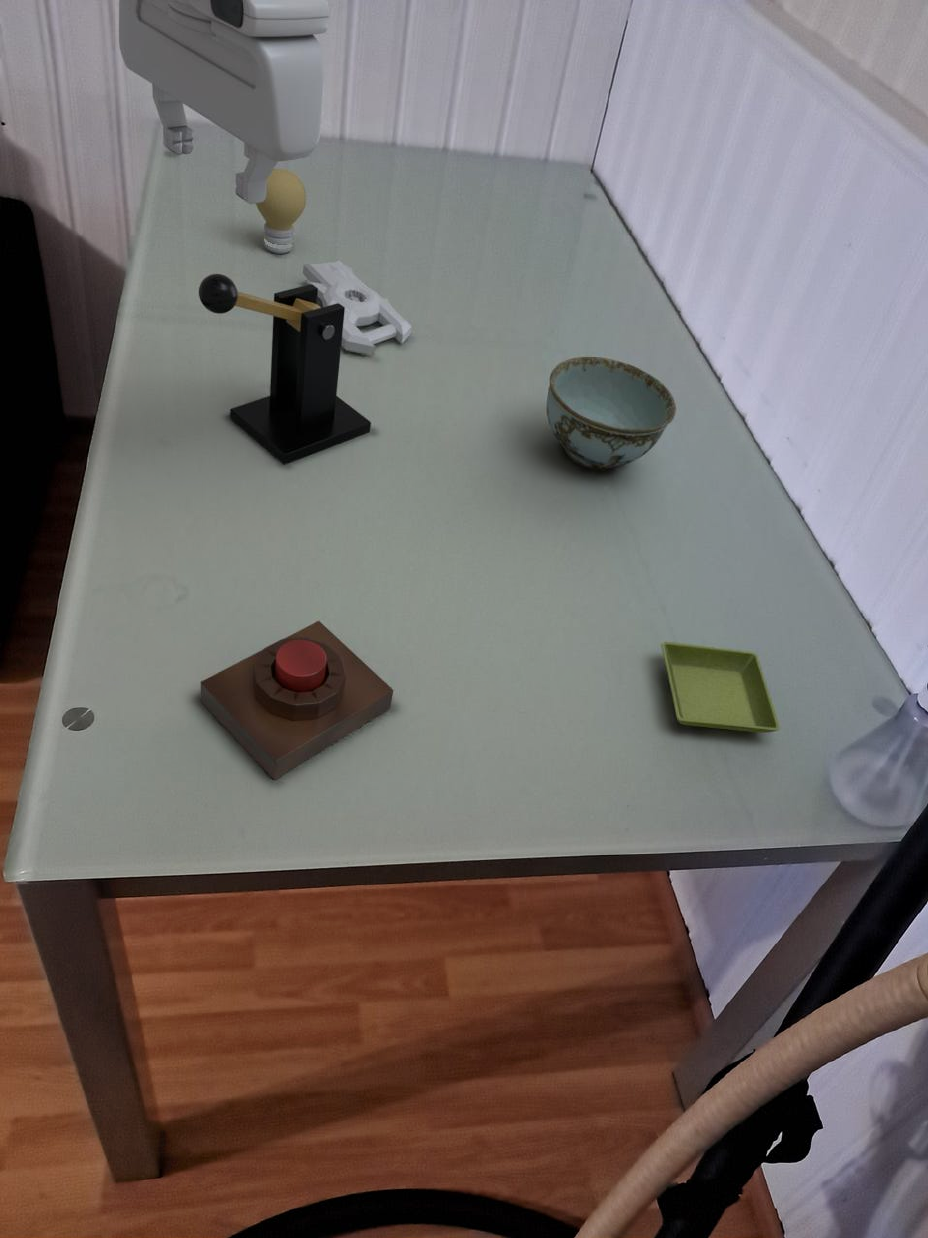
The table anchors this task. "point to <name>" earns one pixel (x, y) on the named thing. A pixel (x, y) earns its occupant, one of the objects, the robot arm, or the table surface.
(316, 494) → the table surface
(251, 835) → the table surface
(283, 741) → the button block
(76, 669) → the table surface
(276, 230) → the light bulb
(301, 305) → the lever
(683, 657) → the green square tray
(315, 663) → the button
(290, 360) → the bracket
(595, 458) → the bowl
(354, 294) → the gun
